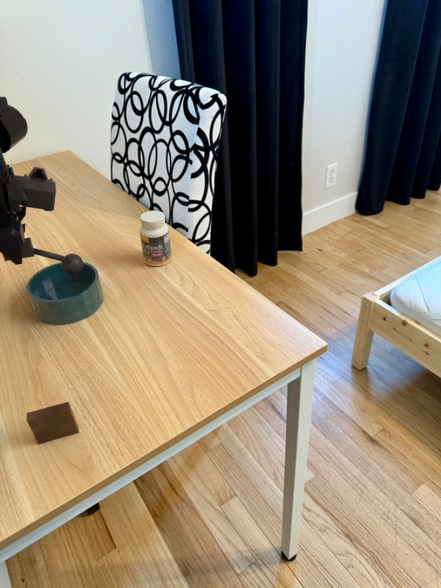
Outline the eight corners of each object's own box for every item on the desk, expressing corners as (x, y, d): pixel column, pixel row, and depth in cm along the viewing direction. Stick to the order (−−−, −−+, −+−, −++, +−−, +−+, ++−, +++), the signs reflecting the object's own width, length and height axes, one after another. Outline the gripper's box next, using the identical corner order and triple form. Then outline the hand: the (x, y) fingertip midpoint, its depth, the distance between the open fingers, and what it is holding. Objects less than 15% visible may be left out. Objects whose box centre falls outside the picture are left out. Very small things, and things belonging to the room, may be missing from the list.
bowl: (34, 331, 71) (25, 308, 68) (35, 290, 80) (27, 268, 77) (107, 315, 74) (101, 292, 71) (99, 277, 83) (94, 255, 80)
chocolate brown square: (38, 444, 55) (26, 420, 51) (38, 436, 55) (26, 412, 52) (78, 432, 56) (69, 408, 53) (78, 425, 57) (68, 401, 54)
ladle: (84, 265, 76) (75, 227, 71) (86, 276, 73) (77, 238, 68) (14, 277, 73) (1, 239, 68) (14, 289, 70) (-1, 250, 65)
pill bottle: (140, 266, 86) (133, 222, 80) (148, 251, 90) (141, 208, 84) (168, 268, 85) (163, 223, 79) (174, 252, 90) (170, 209, 83)
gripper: (45, 182, 55) (74, 281, 64) (43, 138, 69) (67, 224, 78) (-51, 197, 52) (-6, 298, 62) (-32, 148, 66) (2, 236, 76)
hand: (19, 260), depth 69 cm, fingers closed on ladle, 2 cm apart
